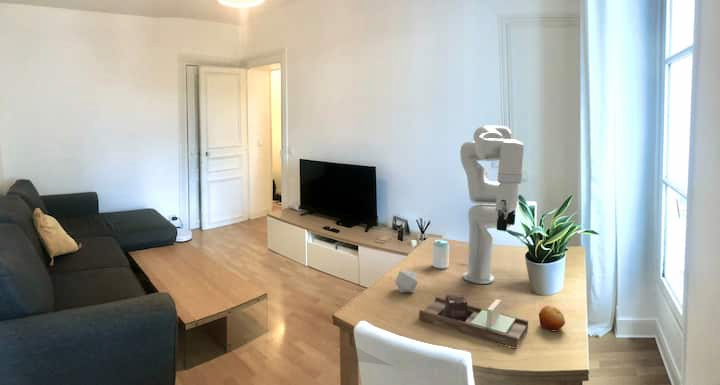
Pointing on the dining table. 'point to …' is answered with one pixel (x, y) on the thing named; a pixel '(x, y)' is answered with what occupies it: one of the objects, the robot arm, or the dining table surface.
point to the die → (406, 281)
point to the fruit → (551, 318)
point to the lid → (494, 319)
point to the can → (440, 254)
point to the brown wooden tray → (437, 317)
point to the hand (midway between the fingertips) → (505, 227)
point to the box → (456, 307)
